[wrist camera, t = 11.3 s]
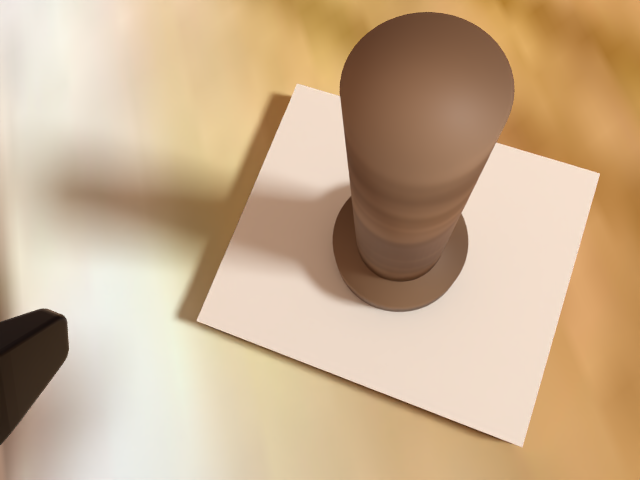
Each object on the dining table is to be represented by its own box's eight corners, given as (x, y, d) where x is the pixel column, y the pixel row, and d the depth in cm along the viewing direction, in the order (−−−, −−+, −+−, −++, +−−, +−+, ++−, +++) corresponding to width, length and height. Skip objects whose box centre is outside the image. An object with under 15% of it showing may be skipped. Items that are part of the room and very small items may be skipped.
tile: (514, 444, 22) (522, 447, 20) (205, 324, 24) (196, 321, 23) (588, 184, 24) (599, 173, 23) (300, 97, 26) (297, 83, 25)
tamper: (439, 330, 22) (521, 254, 10) (316, 286, 23) (252, 165, 11) (478, 211, 23) (596, 9, 11) (359, 174, 24) (345, -53, 12)
